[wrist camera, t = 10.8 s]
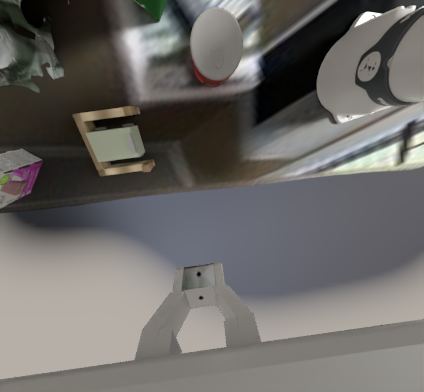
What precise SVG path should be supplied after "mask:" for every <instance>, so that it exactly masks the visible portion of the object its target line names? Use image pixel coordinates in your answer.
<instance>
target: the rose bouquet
mask: <svg viewBox="0 0 424 392" xmlns="http://www.w3.org/2000/svg"><path fill="white" fill-rule="evenodd" d="M20 1H21V0H0V86H5V85H17V86H24V87H27V88H29V89H31V90H33V91H35V92H37V93H39V91H40V90H39V88H38V87H37V86H36V85H35V84H34V83H32V82H31V80H30V79H31V77H32V76H37V75H39V76H42V77H43V73H42V69H41V67H40V65H43V64H44V63H46V62H48V63H50V66H51V67H50V68H47V67H46V69H47V71H48V73H49V74H50V76H51V77H52V78H53V79H55V78H56V79H58V78H59V77H63V76H64V69H63V68H62V67H61V66H60V65H59V63H58V60H57V58H56V55H55V53H54V43H53V39H52V35H51V23H50V24H48V23H49V20H50V22H51V21H52V20H51V18H50V17H49V16H48V15H46V14H45V16H44V18H43V26H42V28H39V29H36V28H35V27H34V26H33V25H31V24H28V23H27V21H26V20H25V18H24V16H23V14H22V11H21V9H20ZM68 4H69V0H68ZM3 19H4V20H5V21H12V23H13V25H14V27H15V28H16V29H18V25H20V26H22V27H24V28H25V29H26V30H28V31H32V32H33V33H35V34H36V36H35V40H33V39H30V38H27V37H24V36H21V35H19V34H17V33H16V32H15V31H14V30H13V29H12V28H11V27H10V26H8V25H7V24H5V23H4V22H3Z"/></svg>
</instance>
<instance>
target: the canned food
mask: <svg viewBox="0 0 424 392" xmlns="http://www.w3.org/2000/svg"><path fill="white" fill-rule="evenodd" d="M190 50H191V57H192V63H193V68H194V72H195V74H196V76H197V78H198V79H199V81H200V82H201V83H203V84H204V85H206V86H208V87H217V86H220V85H221V84H223V83H224V82H225V81H226V80H227V79H228V78H229V77H230V76H231V75H232V74H233V72H234V71H235V70H236V68H237V67H238V64H239V62H240V60H241V56H242V52H243V37H242V32H241V28H240V26H239V24H238V22H237V20H236V19H235V17H234V16H233V15H232V14H231V13H230V12H229V11H227V10H225V9H223V8H219V7H214V8H210V9H207V10H205V11H204V12H203V13H201V15H200V16H199V17H198V18H197V20H196V22H195V23H194V26H193V29H192V32H191V38H190Z"/></svg>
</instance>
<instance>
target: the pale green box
mask: <svg viewBox="0 0 424 392" xmlns="http://www.w3.org/2000/svg"><path fill="white" fill-rule="evenodd" d="M86 136H87V138H88V140H89V142H90V145H91V147H92V149H93V151H94V154H95V156H96V158H97V160H98V162H105V161H107V162H111V161H115V160H120V159H127V158H139V157H143V154H144V153H145V149H144V146H143V143H142V139H141V136H140V133H139V129H138V126H137V125H136V126H134V123H129V124H122V127H121V128H114V129H107V128H106V127H99V128H94V132H89V133H86Z"/></svg>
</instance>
